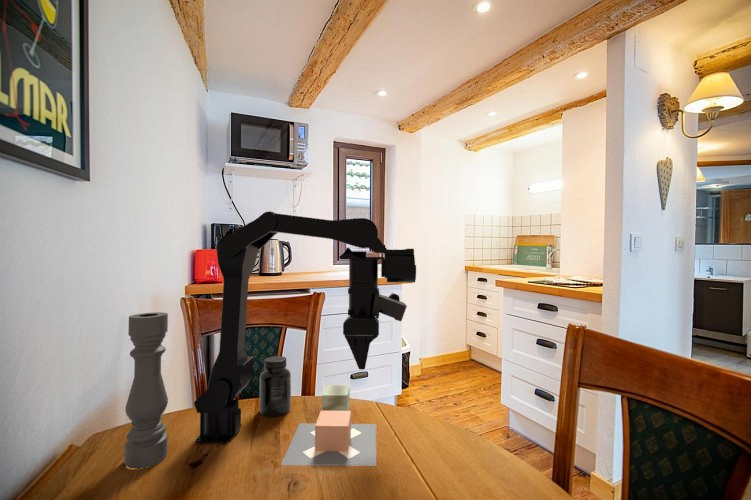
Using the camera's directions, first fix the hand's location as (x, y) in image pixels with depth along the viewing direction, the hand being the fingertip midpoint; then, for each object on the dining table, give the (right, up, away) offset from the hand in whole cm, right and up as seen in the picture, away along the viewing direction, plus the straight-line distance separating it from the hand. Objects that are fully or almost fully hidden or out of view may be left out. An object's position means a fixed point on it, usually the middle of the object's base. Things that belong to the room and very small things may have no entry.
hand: (363, 361), depth 67 cm
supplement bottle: (-20, -15, +10) cm, 27 cm away
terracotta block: (-5, -14, -3) cm, 15 cm away
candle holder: (-37, -15, -8) cm, 41 cm away
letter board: (-5, -15, -3) cm, 16 cm away
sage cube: (-6, -15, +9) cm, 18 cm away
